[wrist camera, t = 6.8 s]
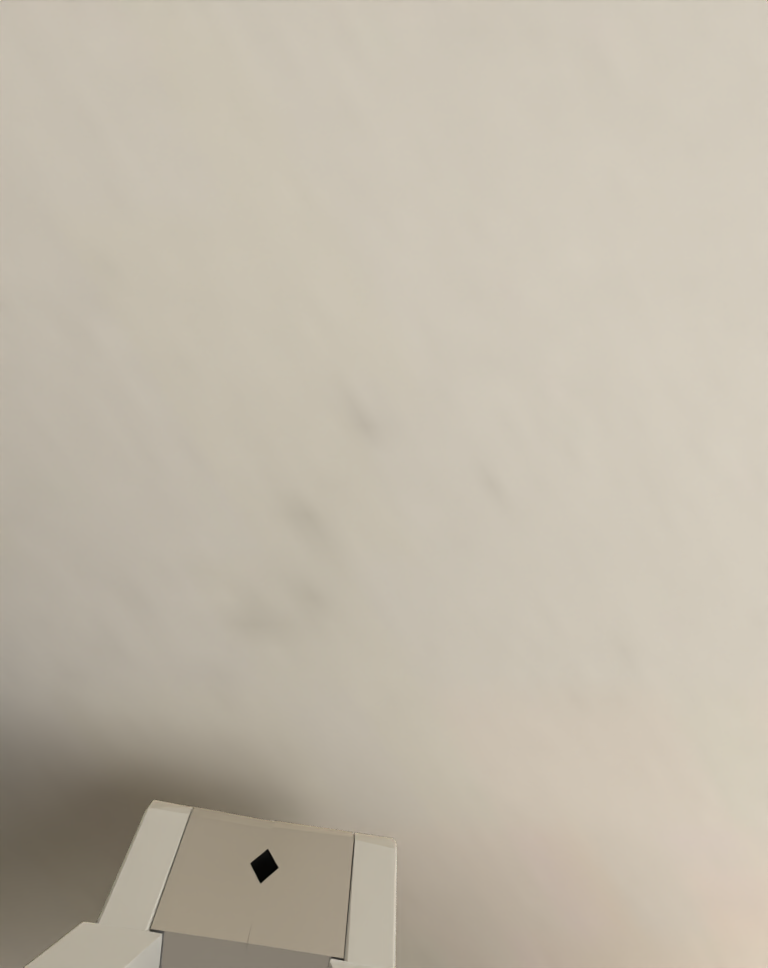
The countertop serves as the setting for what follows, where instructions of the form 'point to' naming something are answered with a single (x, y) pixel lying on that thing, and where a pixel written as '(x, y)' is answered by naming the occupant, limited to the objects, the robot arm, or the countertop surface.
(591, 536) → the countertop surface
